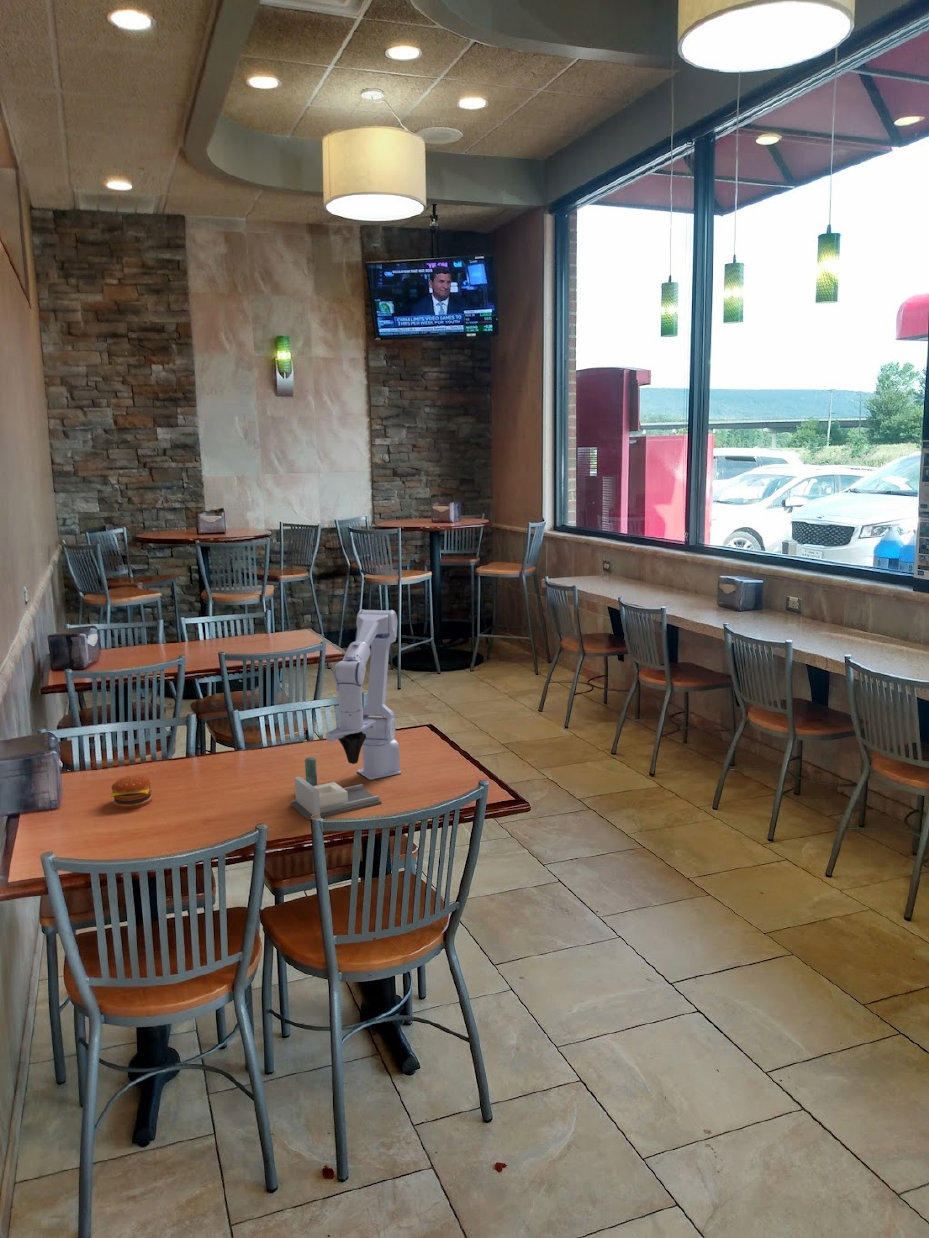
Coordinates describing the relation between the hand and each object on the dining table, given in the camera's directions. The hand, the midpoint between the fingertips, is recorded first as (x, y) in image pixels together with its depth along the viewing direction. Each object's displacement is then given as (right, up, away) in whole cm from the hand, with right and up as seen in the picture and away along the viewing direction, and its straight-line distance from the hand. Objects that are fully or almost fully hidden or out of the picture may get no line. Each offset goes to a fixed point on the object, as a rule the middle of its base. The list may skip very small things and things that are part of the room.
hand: (352, 762), depth 226 cm
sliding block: (-6, -10, -2) cm, 12 cm away
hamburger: (-55, -11, +2) cm, 56 cm away
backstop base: (-4, -10, -1) cm, 11 cm away
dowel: (-12, -8, +10) cm, 17 cm away
